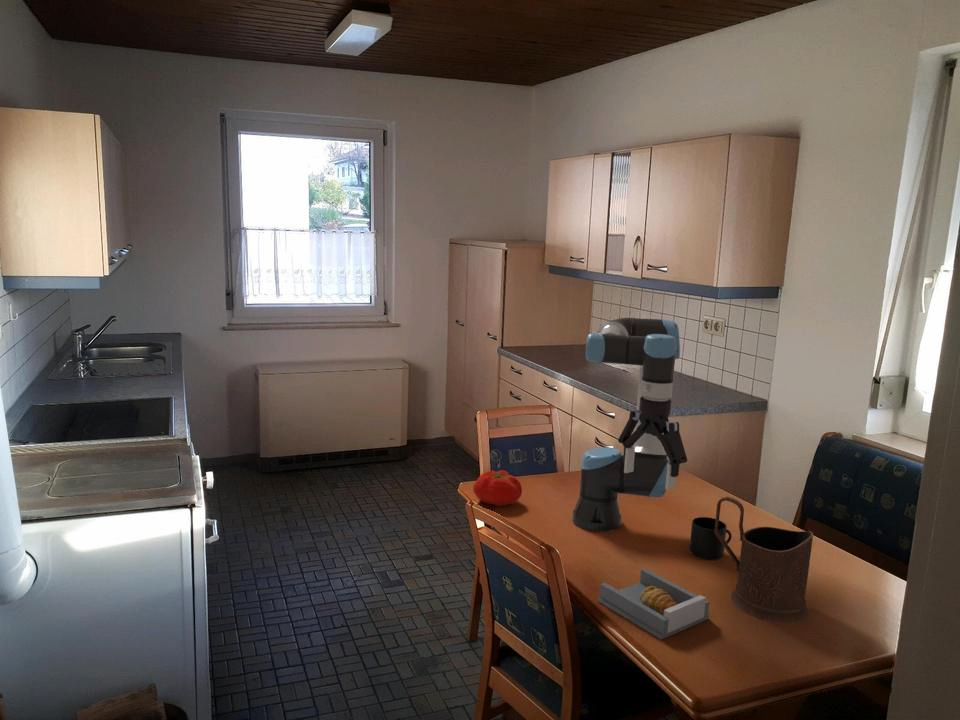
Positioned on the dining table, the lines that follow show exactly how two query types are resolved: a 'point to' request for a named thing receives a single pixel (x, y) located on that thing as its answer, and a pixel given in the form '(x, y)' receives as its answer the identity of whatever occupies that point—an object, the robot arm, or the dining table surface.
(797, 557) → the brown pitcher
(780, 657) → the dining table surface
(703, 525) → the mug
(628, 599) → the tray
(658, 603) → the pastry
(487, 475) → the tomato
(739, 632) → the dining table surface
